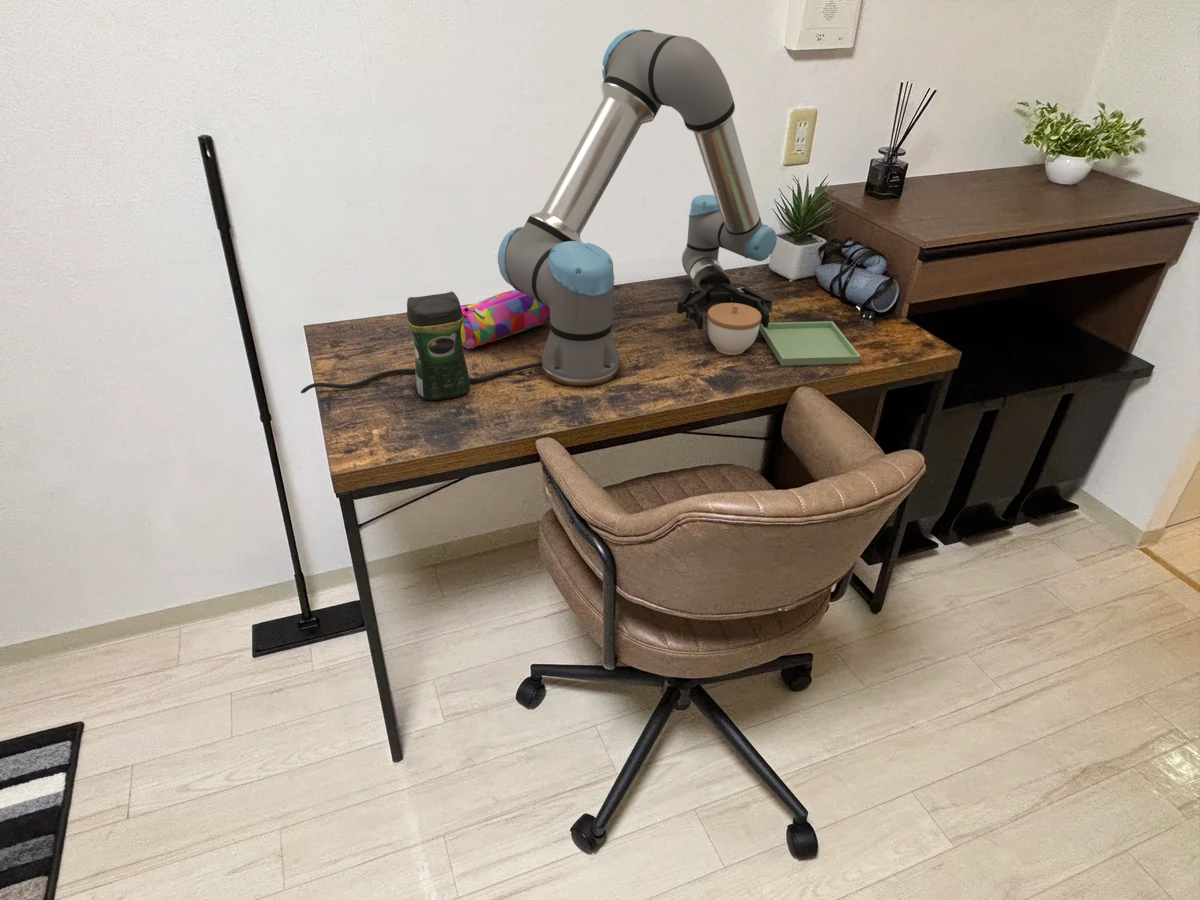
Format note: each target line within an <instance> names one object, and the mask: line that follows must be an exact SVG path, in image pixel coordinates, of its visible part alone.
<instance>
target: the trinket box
mask: <svg viewBox="0 0 1200 900" xmlns="http://www.w3.org/2000/svg"><path fill="white" fill-rule="evenodd" d="M706 320H707V321H706V322H707V323H706V329H707V335H708V339H709V341H710V343H711V344H712V345H713V346H714V348H715V350H716V351H717V352H719V353H721V354H724V355H729V356H736V355H741V354H743V353H744V352H745V351H746V350H747V349H749V348H750V347H751V346H752V345H753V344H754V343H755V341H756V340H757V336H758V334H759V332H760V330H759V327H760V323H761V314H760V312H759V311H758V310H756V309H755V308H753V307H751V306H748V305H744V304H739V303H722V302H720V303H718V304H717V303H716V304H714V305H712V306H711V307H709V308H708V310H707V319H706Z"/></svg>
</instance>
